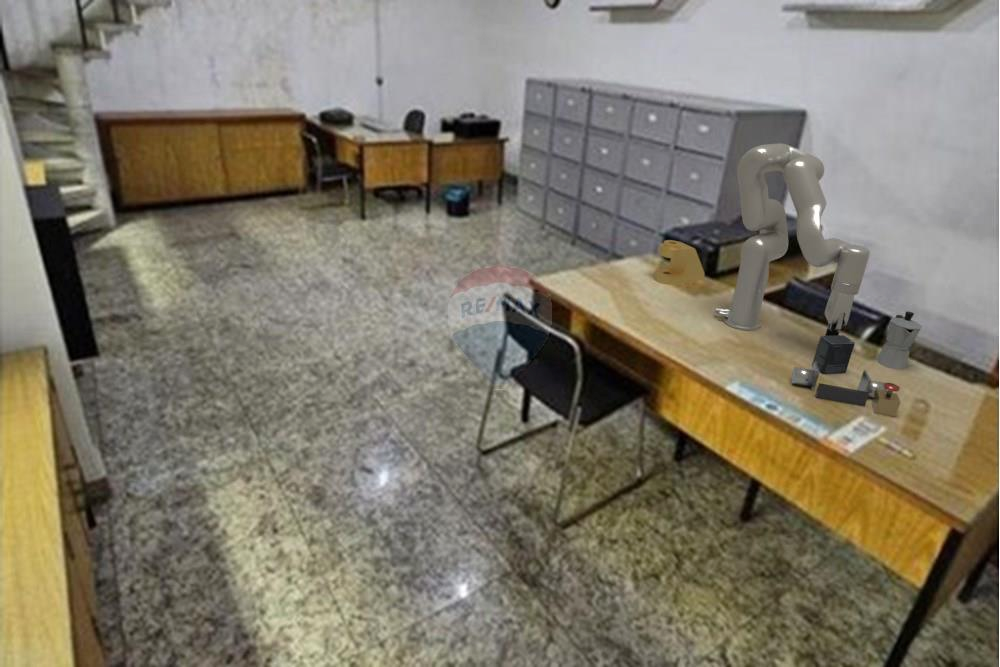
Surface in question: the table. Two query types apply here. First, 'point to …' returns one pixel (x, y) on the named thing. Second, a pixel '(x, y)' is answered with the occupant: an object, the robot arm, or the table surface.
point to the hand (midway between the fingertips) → (830, 341)
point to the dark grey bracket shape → (835, 392)
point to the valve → (886, 400)
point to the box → (833, 354)
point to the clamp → (679, 264)
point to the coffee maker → (899, 341)
